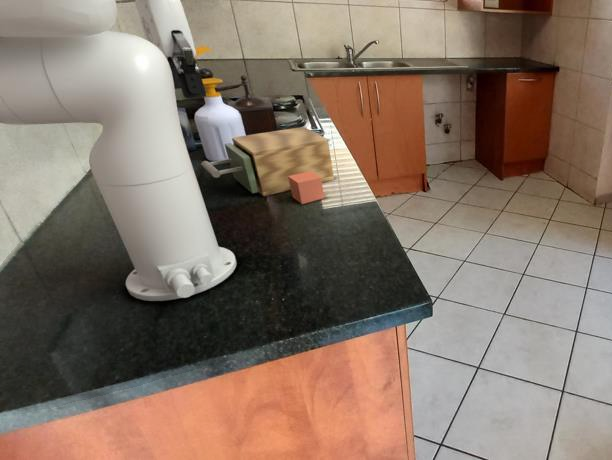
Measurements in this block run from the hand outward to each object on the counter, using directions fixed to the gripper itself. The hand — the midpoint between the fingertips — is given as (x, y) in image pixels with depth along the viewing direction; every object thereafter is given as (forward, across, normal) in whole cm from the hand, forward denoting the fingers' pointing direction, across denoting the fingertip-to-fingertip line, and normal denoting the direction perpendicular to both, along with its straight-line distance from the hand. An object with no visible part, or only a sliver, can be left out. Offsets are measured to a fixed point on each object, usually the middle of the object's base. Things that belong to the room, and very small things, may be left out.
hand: (187, 92), depth 76 cm
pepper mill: (+20, -33, +17) cm, 42 cm away
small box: (+20, -31, -1) cm, 37 cm away
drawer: (+18, +2, +8) cm, 20 cm away
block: (+19, +14, +12) cm, 27 cm away
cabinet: (+19, +2, +13) cm, 24 cm away
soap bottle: (+20, -21, +9) cm, 30 cm away
